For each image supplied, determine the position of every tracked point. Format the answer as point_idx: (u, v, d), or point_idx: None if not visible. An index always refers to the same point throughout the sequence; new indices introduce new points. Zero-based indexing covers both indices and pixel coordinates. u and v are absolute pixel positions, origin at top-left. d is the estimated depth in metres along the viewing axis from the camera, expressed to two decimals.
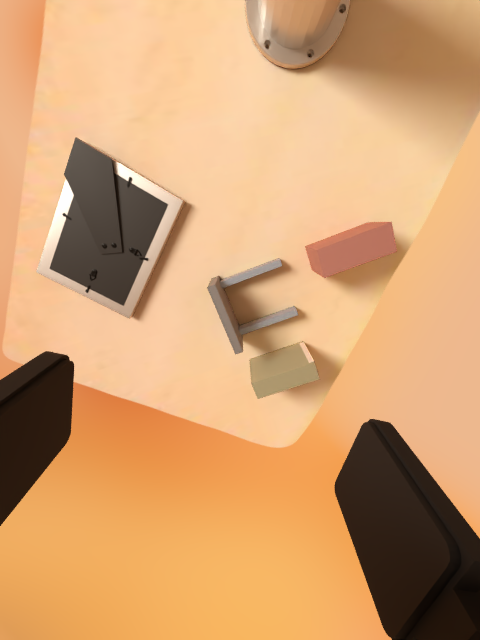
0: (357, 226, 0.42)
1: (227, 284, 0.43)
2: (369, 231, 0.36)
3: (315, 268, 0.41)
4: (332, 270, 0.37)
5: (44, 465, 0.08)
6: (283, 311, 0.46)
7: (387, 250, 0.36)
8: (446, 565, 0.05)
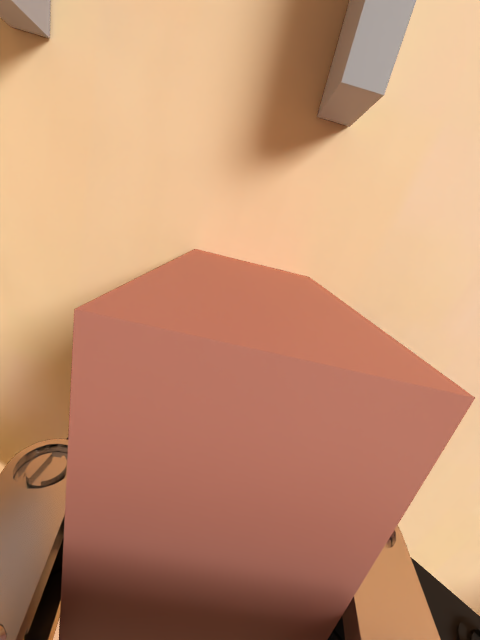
0: None
1: None
2: None
3: (206, 266, 0.06)
4: (126, 431, 0.03)
5: None
6: None
7: None
8: None
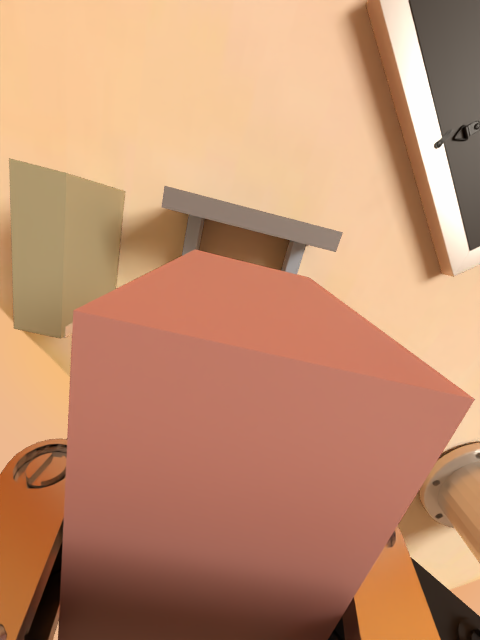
0: None
1: (293, 254, 0.22)
2: None
3: (206, 267, 0.06)
4: (125, 432, 0.03)
5: None
6: None
7: None
8: None
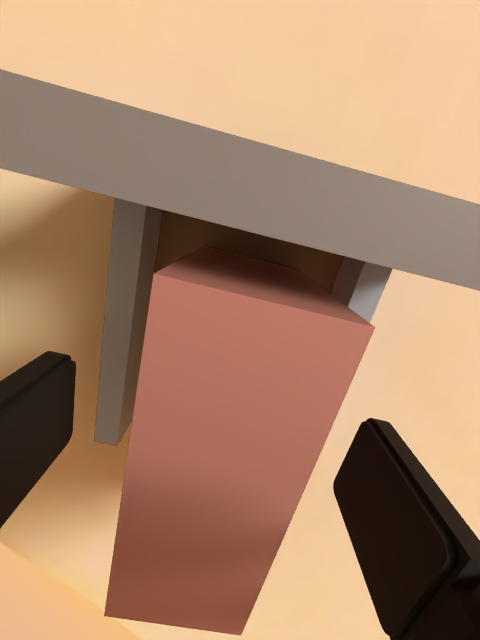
0: None
1: (361, 290, 0.10)
2: (261, 572, 0.07)
3: (216, 258, 0.08)
4: (176, 348, 0.05)
5: (46, 464, 0.08)
6: (132, 391, 0.12)
7: (129, 594, 0.07)
8: (443, 563, 0.05)
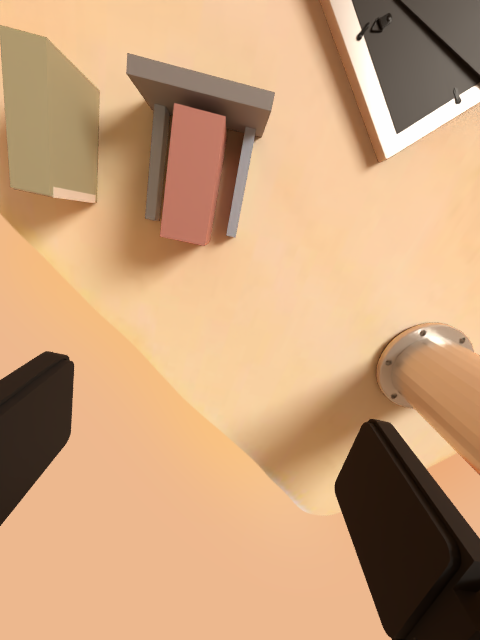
0: None
1: (246, 139, 0.26)
2: (208, 211, 0.24)
3: None
4: (179, 124, 0.21)
5: (44, 465, 0.08)
6: (159, 200, 0.29)
7: (168, 224, 0.24)
8: (446, 565, 0.05)
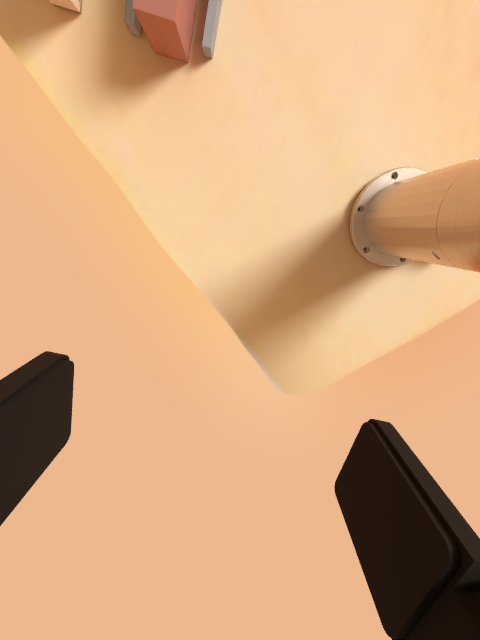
0: (190, 45, 0.32)
1: None
2: None
3: None
4: None
5: (44, 465, 0.08)
6: None
7: None
8: (446, 565, 0.05)
